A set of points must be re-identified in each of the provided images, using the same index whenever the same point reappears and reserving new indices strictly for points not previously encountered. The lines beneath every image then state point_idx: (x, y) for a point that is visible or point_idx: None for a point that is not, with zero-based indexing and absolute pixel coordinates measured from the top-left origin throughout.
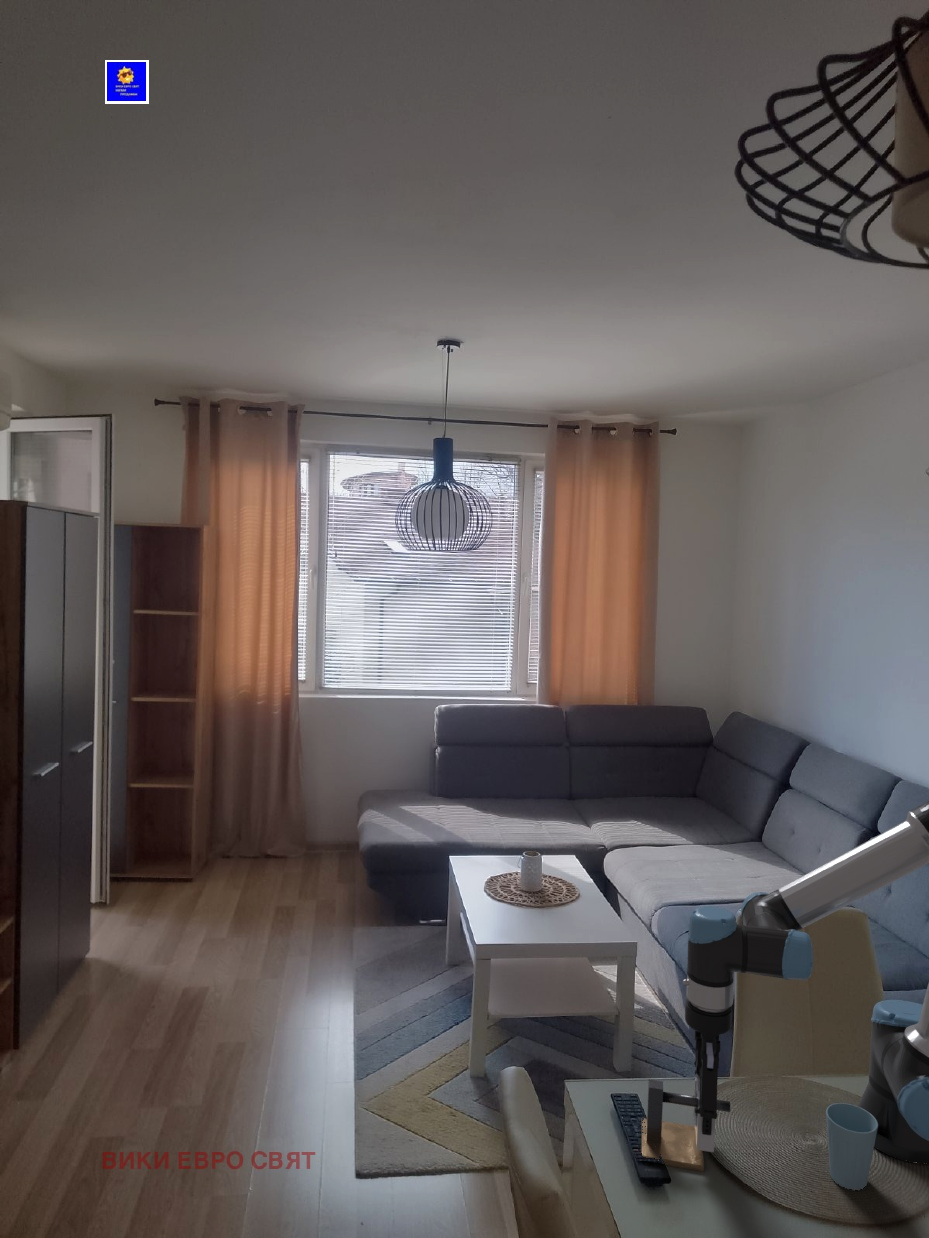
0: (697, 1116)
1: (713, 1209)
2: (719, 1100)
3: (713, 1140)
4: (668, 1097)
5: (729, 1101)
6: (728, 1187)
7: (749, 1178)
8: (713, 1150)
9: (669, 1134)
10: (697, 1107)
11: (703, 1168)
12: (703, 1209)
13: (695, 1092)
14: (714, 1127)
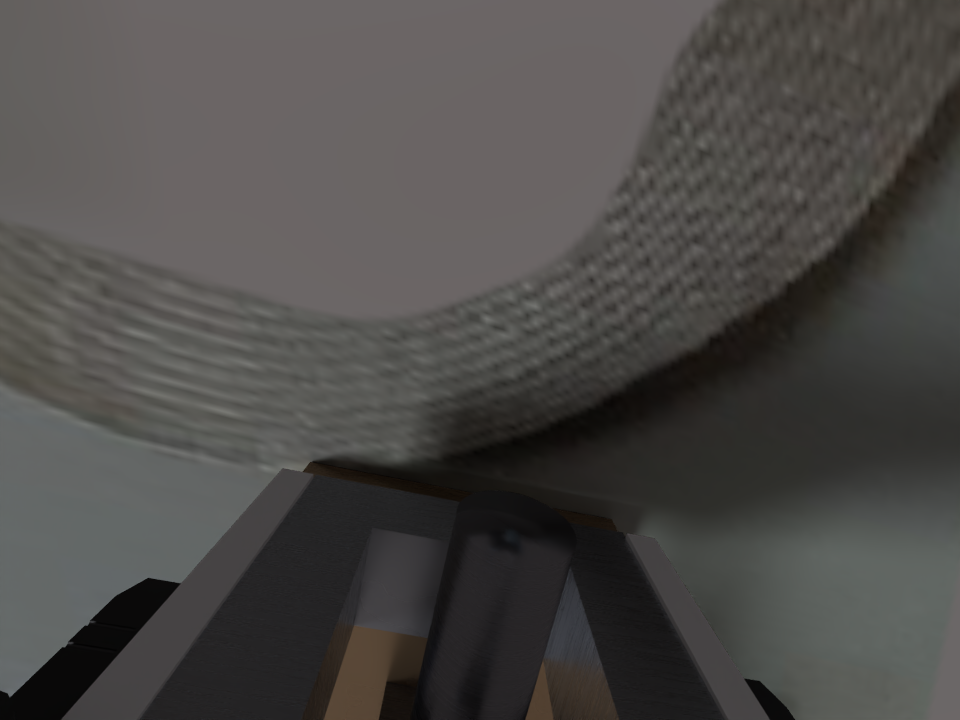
0: (378, 614)
1: (855, 540)
2: (483, 674)
3: (688, 597)
4: None
5: (502, 558)
6: (727, 434)
7: (672, 306)
8: (658, 547)
9: (380, 640)
10: (342, 659)
11: (616, 529)
12: (849, 580)
13: None
14: (744, 685)
